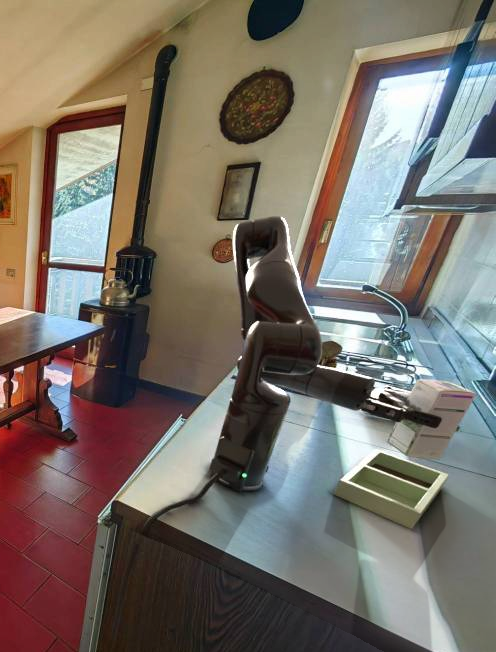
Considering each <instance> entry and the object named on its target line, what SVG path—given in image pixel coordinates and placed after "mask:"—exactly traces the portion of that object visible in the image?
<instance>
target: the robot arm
mask: <svg viewBox="0 0 496 652" xmlns="http://www.w3.org/2000/svg"><path fill="white" fill-rule="evenodd" d="M232 253H233V264H234V272H235V278H236V279H235V280H236V284H237V285H236V286H237V290H238V296H239V304H240V334H241V338H242V339H243V341H244V343H243V348H242V352H241V356H240V357H239V358H238V360H237V362H236V367H237V373H236V377H235V381H234V385H233V390H232V393H231V396H230V400H229V403H228V407H227V410H226V413H225V417H224V420H223V423H222V427H221V429H220V430H221V431H220V434H219V437H218V440H217V444H216V448H215V451H214V455H213V458H212V459H211V462H210V465H209V469H208V470H209V474H208V477H209V478H210V479H209V480H208V481H207V482H205V484H204V486H202V488H201V490H200V491H199V492H198V493H197V494H195V495H194V496H192V497H188V498H186V499H182V500H180V501H177V502H174V503H171V504H168V505H166V506H164V507H162V508H161V509H159V510H157V511H155V512H154V513H153V514H151V515H150V516H149V518H148V519H147V520H146V522H145V523H144V525H142V527H141V530H140V532H141V533H142V534H147V532H149V529H150V528H151V526H152V525H153V523H155V521H156V520H157V519H158V518H159V517H161V516H163V515H164V514H166V513H168V512H170V511H172V510H175V509H177V508H181V507H183V506H185V505H188V504H192V503H195V502H197V501H199V500H200V499H202V498H203V497H204V496H205V495H206V494H207V493H208V491H209V489H210V488H211V487H212V486H213V485H214V484H215V483H216V482H219V483H220V484H222V485H225V486H226V487H228V488H230V489H232V490H234V491H236V492H238V493H240V492H242V491H245V492H253V491H258V490H259V489H260V488H261V487H262V485H263V482H264V478H265V474H267V473H268V470H269V468H270V467H269V464H270V461H271V457H272V454H273V451H274V449H275V446H276V443H277V440H278V439H279V435H280V433H281V430H282V427H283V424H284V423H285V419H286V416H287V412H288V411H289V408H290V405H291V402H292V401H291V399H292V398H291V396H290V394H289V393H288V392H286V391H285V390H284V389H282V388H286V389H289V390H291V391H294V392H297V393H300V394H304V395H307V396H310V397H312V398H314V399H317V400H320V401H321V402H325V403H329V404H331V405H336V406H339V407H343V408H345V409H347V410H350V411H355V412H357V411H362V412H365V413H370V414H373V415H377V416H380V417H379V418H381V417H383V418H382V419H385V418H386V419H385V420H389V421H391V422H395V423H396V422H401V420H402V421H408V420H409V421H411V422H415V423H418V424H421V425H425V426H428V427H431V428H437V427H438V426H439V425H440V423H441V421H442V418H441V417H439V416H436V415H432V414H428V413H425V412H421V411H418V410H414V412H413V409H412V408H410V407H408V406H405V403H406V401H407V399H408V397H409V395H410V393H411V391H410V390H407V389H402V388H397V387H394V386H390V385H384V388H383V389H382V388H376V387H375V384H376V380H375V379H374V378H373V377H370V376H366V375H362V374H359V373H355V372H351V371H346V370H343V369H338V368H329V367H323V366H318V364H319V362H320V359H321V355H322V342H323V340H322V335H321V331H320V329H319V326H318V325H317V322H316V321H315V319H314V317H313V315H312V313H311V311H310V309H309V308H308V305H307V302H306V299H305V297H304V294H303V290H302V285H301V279H300V276H299V273H298V269H297V267H296V265H295V262H294V257H293V255H292V251H291V244H290V236H289V228H288V224H287V222H286V220H285V218H283V217H282V216H279V215H277V216H276V215H275V216H268V217H262V218H256V219H253V220H247V221H241V222H239V223H237V224H236V225H235V227H234V230H233V233H232ZM258 258H259V259H258ZM251 259H257V260H256V261H255V262H254V263H253V264H252V266H251V267H250V262H249V261H250V260H251ZM278 386H279V387H278ZM280 387H282V388H280ZM388 410H389V411H388ZM377 416H376V417H377ZM140 548H141V545H140V544H138V543H137V542H135V543H134V544H133V548H132V551H131V552H130V553H131V554H130V557H129V559H128V562H127V566H126V569H125V572H124V575H123V579H122V582H121V586H120V591H119V594H118V600H117V605H116V610H115V615H114V619H113V624H112V627H111V633H110V637H109V639H110V641H111V642H115V641H116V637H117V633H118V629H119V624H120V620H121V615H122V610H123V605H124V601H125V596H126V592H127V588H128V584H129V580H130V577H131V574H132V571H133V568H134V565H135V562H136V559H137V556H138V554H139V551H140Z"/></svg>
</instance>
